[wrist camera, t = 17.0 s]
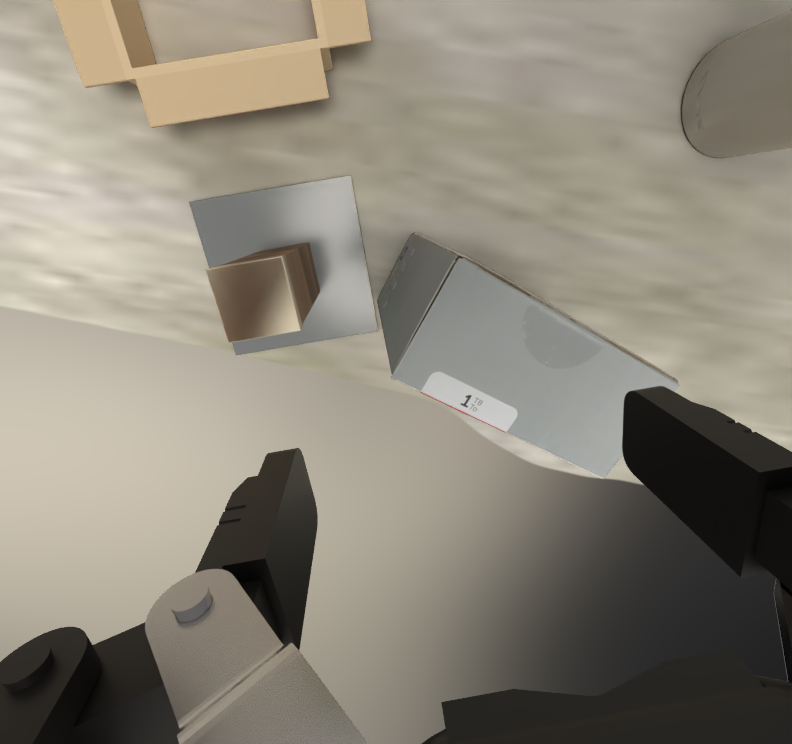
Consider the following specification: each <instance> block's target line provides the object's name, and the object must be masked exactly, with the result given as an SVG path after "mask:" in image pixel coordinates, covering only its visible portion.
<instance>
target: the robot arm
mask: <svg viewBox="0 0 792 744" xmlns="http://www.w3.org/2000/svg"><path fill="white" fill-rule="evenodd" d="M682 121H683V126H684V130H685V133H686V135H687V137H688V139H689V141H690V142H691V144H692V145H693V146H694V147H695V148H696V149H697V150H698V151H700V152H701V153H703V154H705V155H707V156H710V157H716V158H725V157H732V156H739V155H745V154H752V153H759V152H767V151H773V150H780V149H786V148H792V10H790V11H788V12H786V13H783V14H781V15H779V16H777V17H775V18H773V19H770V20H768V21H766V22H764V23H762V24H760V25H758V26H756V27H754V28H751V29H749V30H747V31H745V32H743V33H741V34H739V35H737V36H735V37H733V38H730V39H728V40H726V41H724V42H723V43H721V44H720V45H718V46H717V47H715V48H714V49H712V50H711V51H710V52H709V53H708V54H707V55H706V56H705V57H704V58H703V59H702V61H701V62H700V63H699V65H698V66H697V67H696V69H695V70H694V72H693V74H692V76H691V78H690V80H689V82H688V85H687V88H686V91H685V94H684V99H683V105H682ZM622 452H623V456H624V460H625V462H626V464H627V466H628V468H629V470H630V471H631V472H632V473H633V474H634V475H635V476H636V477H637V478H638V479H639V480H640V481H641V482H642V483H643V484H644V485H645V486H646V487H647V488H648V489H649V490H650V491H651V492H653V494H655V495H656V496H657V497H658V498H659V499H660V500H661V501H662V502H663V503H664V504H665V505H666V506H667V507H668V508H669V509H670V510H671V511H672V512H673V513H674V514H675V515H676V516H677V517H678V518H679V519H680V520H682V521H683V522H684V523H685V524H686V525H687V526H688V527H689V528H690V529H691V530H692V531H693V532H694V533H695V534H696V535H697V536H698V537H699V538H700V539H701V540H702V541H703V542H704V543H705V544H706V545H707V546H708V547H709V548H711V549H712V550H713V551H714V552H715V553H716V554H717V555H718V556H719V557H720V558H721V559H722V560H723V561H724V562H725V563H726V564H727V565H728V566H729V567H730V568H731V569H732V570H734V571H735V573H736V574H737V575H739V576H740V577H741V578H742V577H747V576H753V575H759V574H764V573H771V574H772V575H773V576H775V577H776V583H775V588H774V598H775V604H776V610H777V616H778V623H779V629H780V635H781V641H782V646H783V653H784V659H785V665H786V671H787V678H788V682H786V681H782V680H777V679H771V678H766V677H761V676H755V675H754V674H753V673H752V672H751V671H750V669H749V668H748V667H747V666H746V664H745V663H744V662H743V661H742V660H741V659H740V657H739V656H738V655H737V654H736V653H735V651H734V650H733V649H731V650H725V651H720V652H714V653H709V654H703V655H698V656H692V657H687V658H681V659H676V660H670V661H665V662H661V663H659V664H657V665H655V666H653V667H652V668H650V669H648V670H646V671H645V672H643V673H641V674H639V675H637V676H635V677H634V678H632V679H630V680H628V681H626V682H624V683H623V684H621V685H619V686H617V687H616V688H614V689H612V690H610V691H608V692H606V693H604V694H602V695H599V696H582V695H570V694H560V693H550V692H538V691H528V690H517V689H512V690H506V691H500V692H495V693H490V694H484V695H479V696H473V697H468V698H463V699H457V700H451V701H446V702H442V708H443V714H444V721H445V726H446V729H444V730H443V731H441V732H439V733H437V734H435V735H433V736H432V737H430V738H429V739H427V740H426V741H425V742H423V743H422V744H792V452H791V451H789V450H787V449H785V448H784V447H782V446H780V445H778V444H776V443H775V442H773V441H771V440H769V439H767V438H766V437H764V436H762V435H760V434H758V433H757V432H752V431H751V429H750V428H748V427H746V426H744V425H742V424H741V423H739V422H738V423H735V420H733V419H732V418H730V417H728V416H726V415H724V414H723V413H721V412H719V411H717V410H715V409H713V408H709V407H706V406H703V405H700V404H697V403H693V402H691V401H689V400H687V399H686V398H684V397H682V396H680V395H679V394H677V393H675V392H673V391H672V390H670V389H668V388H666V387H664V386H656V387H650V388H644V389H639V390H633V391H629V392H628V393H627V394H626V395H625V398H624V409H623V436H622ZM316 532H317V508H316V503H315V498H314V495H313V491H312V488H311V484H310V480H309V476H308V472H307V469H306V465H305V462H304V458H303V455H302V452H301V450H300V449H299V448H296V449H290V450H284V451H278V452H273V453H268V454H267V455H266V457H265V460H264V462H263V465H262V467H261V470H260V472H259V475H258V476H254V477H249V478H247V479H246V480H245V481H244V482H243V483H242V484H241V485H240V486H239V487H238V488H237V489H236V490H235V491H234V492H233V493H232V495H231V497H230V500H229V501H228V503H227V506H226V508H225V512H223V514H222V516H221V518H220V521H219V525H218V526H217V527H216V529H215V531H214V533H213V536H212V538H211V540H210V542H209V544H208V546H207V548H206V551H205V553H204V555H203V557H202V559H201V561H200V564H199V566H198V568H197V570H196V572H195V573H194V574H192V575H190V576H187V577H186V578H184V579H182V580H180V581H179V582H177V583H176V584H174V585H173V586H171V587H170V588H169V589H168V590H167V591H166V592H165V593H163V594H162V595H161V596H160V597H159V599H158V600H157V601H156V602H155V604H154V605H153V606H152V608H151V610H150V612H149V614H148V616H147V619H146V622H145V623H143V624H141V625H139V626H136V627H134V628H131V629H129V630H127V631H125V632H122V633H120V634H118V635H115V636H113V637H111V638H109V639H106V640H104V641H102V642H99V643H97V644H95V645H92V644H91V642H90V640H89V639H88V637H87V636H86V634H85V632H84V631H83V630H81V629H80V628H76V627H64V628H59V629H55V630H52V631H49V632H47V633H44V634H42V635H40V636H38V637H36V638H34V639H32V640H31V641H29V642H27V643H25V644H24V645H22V646H21V647H19V648H18V649H16V650H15V651H13V652H12V653H11V654H9V655H8V656H7V657H6V658H4V659H3V660H2V661H1V662H0V744H368V743H367V741H366V740H365V739H364V737H363V736H362V734H361V733H360V732H359V730H358V729H357V728H356V727H355V725H354V724H353V722H352V721H351V720H350V719H349V717H348V716H347V714H346V713H345V712H344V710H343V709H342V708H341V706H340V705H339V704H338V702H337V701H336V700H335V698H334V697H333V696H332V694H331V693H330V692H329V690H328V689H327V687H325V685H324V684H323V682H322V681H321V679H320V678H319V677H318V675H317V674H316V673H315V671H314V670H313V669H312V667H311V666H310V665H309V663H308V662H307V661H306V659H305V658H304V657H303V655H302V654H301V653H300V651H299V648H300V641H301V635H302V628H303V621H304V614H305V607H306V601H307V594H308V587H309V580H310V573H311V566H312V560H313V553H314V546H315V539H316Z"/></svg>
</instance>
